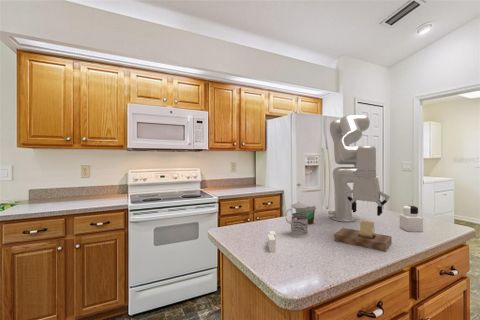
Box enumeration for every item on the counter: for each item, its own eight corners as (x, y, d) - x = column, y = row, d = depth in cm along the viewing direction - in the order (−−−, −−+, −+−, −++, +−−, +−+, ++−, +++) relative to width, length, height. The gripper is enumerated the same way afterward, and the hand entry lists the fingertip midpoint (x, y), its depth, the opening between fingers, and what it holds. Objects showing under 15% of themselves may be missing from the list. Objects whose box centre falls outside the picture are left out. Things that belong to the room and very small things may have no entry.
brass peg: (360, 243, 102) (360, 222, 102) (362, 240, 105) (362, 220, 105) (372, 245, 99) (371, 224, 99) (374, 242, 102) (374, 221, 102)
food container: (293, 224, 133) (293, 206, 133) (294, 221, 139) (294, 204, 139) (316, 225, 130) (316, 207, 130) (316, 222, 135) (316, 205, 135)
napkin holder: (276, 256, 91) (275, 241, 91) (252, 249, 98) (252, 236, 98) (293, 245, 102) (293, 232, 102) (271, 239, 109) (271, 227, 109)
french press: (311, 238, 109) (310, 184, 109) (285, 236, 112) (284, 184, 112) (309, 231, 119) (308, 182, 119) (285, 230, 121) (285, 182, 121)
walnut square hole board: (334, 240, 106) (334, 233, 106) (343, 233, 114) (343, 227, 114) (385, 251, 92) (385, 243, 92) (391, 243, 101) (391, 236, 101)
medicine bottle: (413, 227, 123) (413, 204, 123) (423, 232, 116) (422, 207, 116) (399, 227, 123) (399, 204, 123) (407, 231, 116) (407, 207, 116)
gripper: (342, 174, 105) (343, 212, 106) (387, 176, 94) (387, 218, 94) (348, 172, 111) (348, 209, 111) (391, 174, 99) (391, 214, 100)
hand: (366, 213), depth 103 cm, fingers open, 9 cm apart
